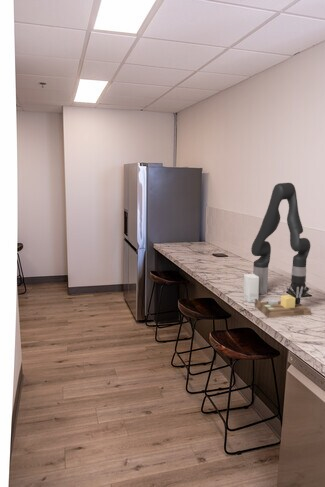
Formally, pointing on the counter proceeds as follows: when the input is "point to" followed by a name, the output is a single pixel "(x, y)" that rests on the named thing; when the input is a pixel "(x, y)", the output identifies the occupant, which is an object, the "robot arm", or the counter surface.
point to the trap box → (281, 309)
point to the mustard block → (288, 301)
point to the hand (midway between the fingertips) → (297, 303)
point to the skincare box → (251, 287)
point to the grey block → (272, 302)
